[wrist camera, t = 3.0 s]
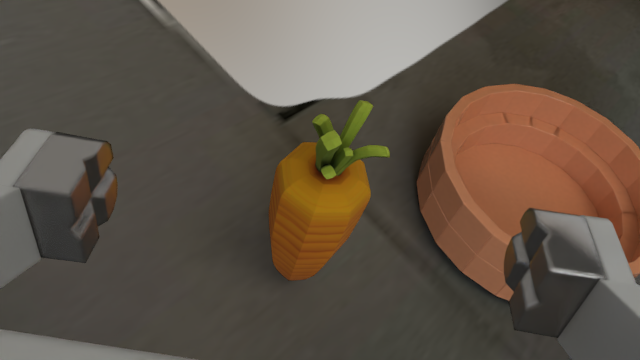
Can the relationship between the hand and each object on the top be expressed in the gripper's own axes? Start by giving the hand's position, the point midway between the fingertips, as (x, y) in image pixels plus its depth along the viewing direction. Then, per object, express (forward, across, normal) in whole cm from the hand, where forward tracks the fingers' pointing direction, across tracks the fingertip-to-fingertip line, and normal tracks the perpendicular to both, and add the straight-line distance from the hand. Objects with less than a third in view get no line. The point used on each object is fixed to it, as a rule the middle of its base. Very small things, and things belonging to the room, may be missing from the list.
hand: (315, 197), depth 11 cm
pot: (+24, -16, +22) cm, 36 cm away
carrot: (+15, +1, +22) cm, 27 cm away
